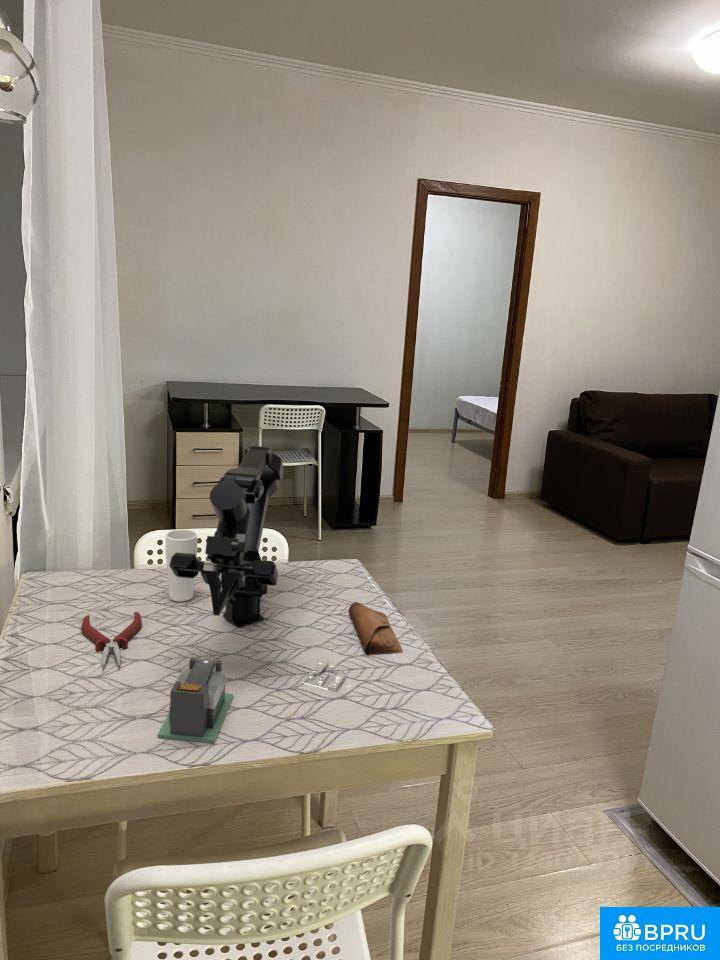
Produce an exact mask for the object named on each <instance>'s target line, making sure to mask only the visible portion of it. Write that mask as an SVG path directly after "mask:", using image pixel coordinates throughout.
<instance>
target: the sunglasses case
mask: <svg viewBox="0 0 720 960" xmlns="http://www.w3.org/2000/svg"><path fill="white" fill-rule="evenodd" d="M348 614H349V617H350V620H351V622H352V624H353V625H354V628H355V631H356V633H357V635H358V638H359V641H360V643H361V646H362V648H363V650H364V652H365V654H366V655H367V656H375V655H377V656H378V655H391V654H394V655H395V654H402V653H404V652H403V649H402V646H401V643H400V642H399V641H398V638H397V635H396V634H395V632H394V630H393V628H392V626H391V624H390V622H389V620H388V618H387V614H386V613H384V612H380V611H378V610H375V609H372V608H369V607H368V606H366V605H364V604H363V603H360V602H358V601H355V602H353V603H351V605H349V608H348Z"/></svg>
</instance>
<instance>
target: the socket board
mask: <svg viewBox="0 0 720 960" xmlns="http://www.w3.org/2000/svg"><path fill="white" fill-rule="evenodd" d="M196 661H197V658H196V657H190V659H189V666H188V667H189V668H188V669H193V667H194V665H195V663H196ZM222 662H223V660H220V659H217V660H215V667H214V669H215V670H214V671H219V672H222V665H223V664H222ZM180 686H181V682H177V680H175V683H174V684H173V686H172V688H171V690H169V691H170V692H169V694H170V702H169V703H170V706H169V708H170V724H169V713H168V715H167V716H166V718H165V720H164V722H163V723H162V725H161V727H160V728H159V731H158V733H157V734H156V735H157V739H164V740H175V741H185V742H197V743H205V744H206V743H207V744H215V743H216V740H217V738H218V737H219V734H218V733H220V731H221V728H222V726H223V723H224V721H225V718H226V716H227V714H228V711H229V708H230V706H231V704H232V701H233V698H234V694H233V693H228V692H225V701H224V703H223V706H222V708H221V710H220V713H219V715H218V717H217V720H216V722H215V725H214V727H213V729H212V728H207V713H208V694H209V685H208V684H203V686H202V688H201V690H200V692H189V691H179V688H180Z"/></svg>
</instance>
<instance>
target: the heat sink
mask: <svg viewBox="0 0 720 960" xmlns="http://www.w3.org/2000/svg"><path fill="white" fill-rule="evenodd" d="M191 670H192V669H189V668H188V667H187V668H183V669H182V670H181V671H180V674H179V675H178V677H177V679H176V681H177V682H181V685H182V683H184V682H185V681H186V679H187V677H188V675H189V674H190V672H191ZM225 673H226V672H225V671H221V672H219V671H215V670H212V672H211V674H210V676H209V678H208V680H207V682H206V684H208V685H209V694H208V713H207V728H212V729H213V727H214V725H215V722H216V720H217V717H218V715H219V713H220V710H221V708H222V706H223V703H224V701H225V693H226V684H225V683H226V682H225V679H226V677H225V676H226V675H225ZM168 711H169V713H168V714H169V724H170V707H169V710H168Z"/></svg>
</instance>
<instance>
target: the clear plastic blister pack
mask: <svg viewBox="0 0 720 960" xmlns="http://www.w3.org/2000/svg"><path fill="white" fill-rule="evenodd" d="M318 665H322V666H321V667H320V669H319V670H318V671H317V670H314V669H315V668H316V667H317V666H318ZM329 667H331V668H334V666H332V665H330V663H329V662H327V661H326V662H325V663H323V662H322V663H321V662H317V663H316V664H315V665H314V666H313V667H312V669H311V670H310V671H309V672H308V673H309V674H308V673H307V674H306V676H304V678H303V679H302V680H301V681H300V683H302V684H305V685H309V686H312V687H316V688H319V689H324V690H327V691H331V692H334V693H336V692H337V691H338V690H339V689H340V687H341V686H342V684H343V683H344V682H345V681H346V679H347V678H346V677H347V676H346V675H347V674H346V673H345V670H344V668H343V667H342V668H340V667H337V666H335V667H336V669H339V672H338V673H336V675H335V676H334V678H333V679H332V680H331V681H330V683H329V684H328V685H327V688H324V687H323V685H324V684H325V683H326V681H327V680H328V679H329V677H330V673H328V672H324V673H323V674H322V677H320V678H319V680H317V681H316V683H317V684H316V685H313V684H311V683H306V682H304V681H305V680H306V678H307V680H308V681H310V680H312V681H314V680H315V674H316V676H317V677H318V676H321V673H322V672H323V671H325V670H326V669H327V668H329Z"/></svg>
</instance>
